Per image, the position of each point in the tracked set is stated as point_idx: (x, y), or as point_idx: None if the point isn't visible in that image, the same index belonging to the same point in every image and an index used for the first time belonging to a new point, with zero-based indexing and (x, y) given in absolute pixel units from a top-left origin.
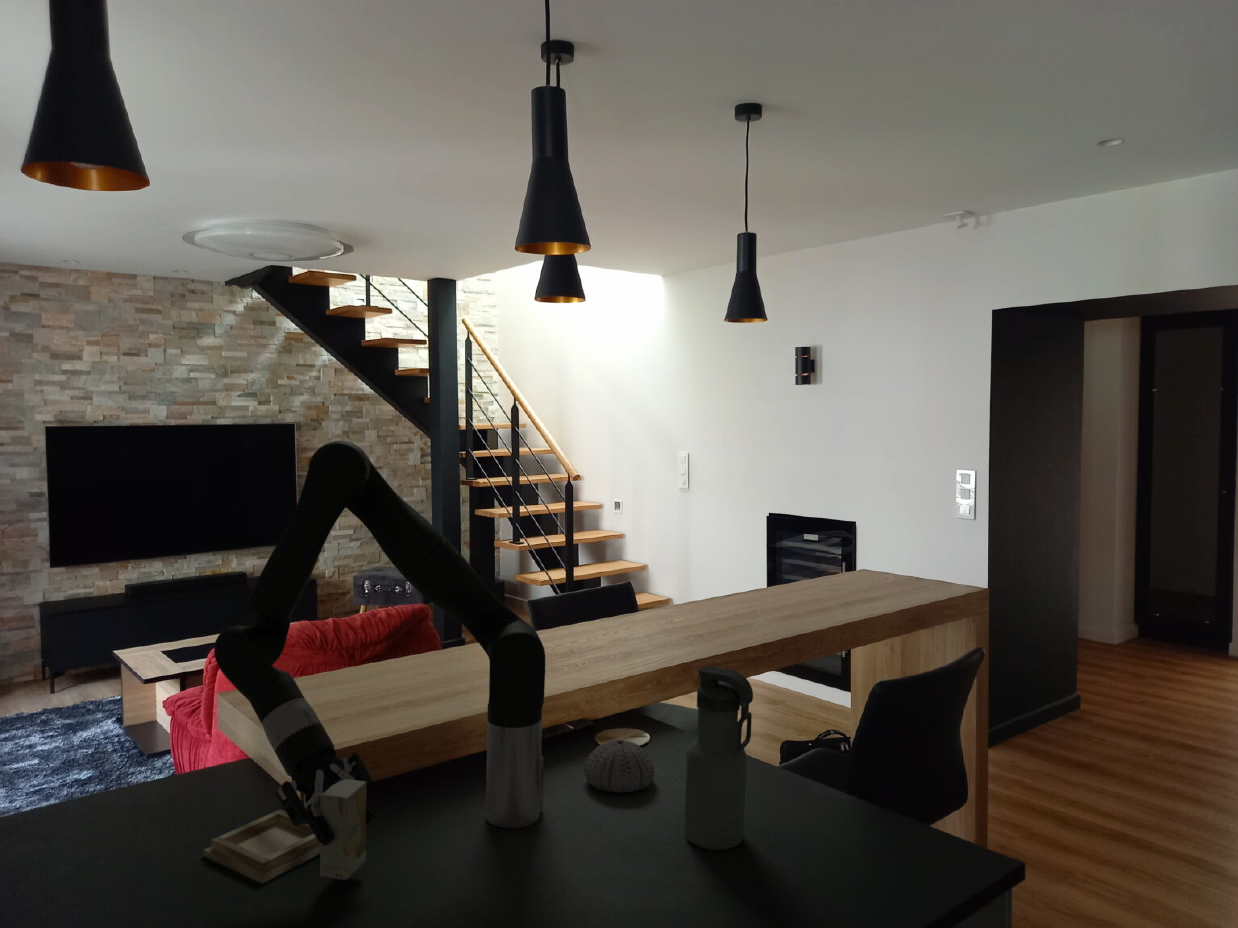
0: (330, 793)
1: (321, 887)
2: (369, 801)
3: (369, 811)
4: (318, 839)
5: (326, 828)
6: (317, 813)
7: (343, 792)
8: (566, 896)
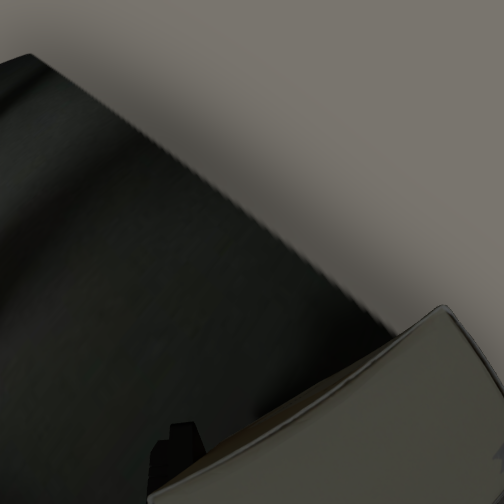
0: (499, 442)
1: None
2: (151, 491)
3: (189, 443)
4: None
5: None
6: None
7: (434, 409)
8: (75, 140)
